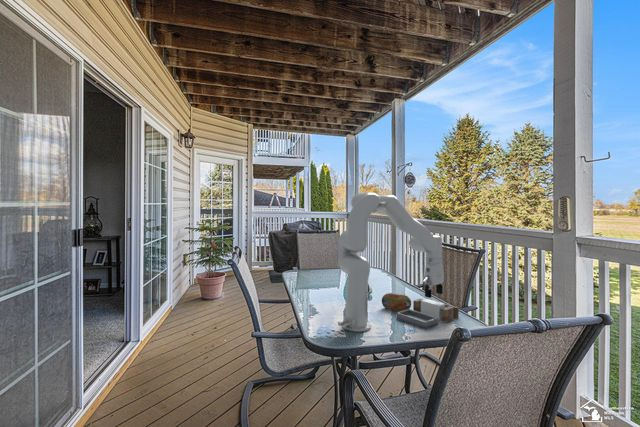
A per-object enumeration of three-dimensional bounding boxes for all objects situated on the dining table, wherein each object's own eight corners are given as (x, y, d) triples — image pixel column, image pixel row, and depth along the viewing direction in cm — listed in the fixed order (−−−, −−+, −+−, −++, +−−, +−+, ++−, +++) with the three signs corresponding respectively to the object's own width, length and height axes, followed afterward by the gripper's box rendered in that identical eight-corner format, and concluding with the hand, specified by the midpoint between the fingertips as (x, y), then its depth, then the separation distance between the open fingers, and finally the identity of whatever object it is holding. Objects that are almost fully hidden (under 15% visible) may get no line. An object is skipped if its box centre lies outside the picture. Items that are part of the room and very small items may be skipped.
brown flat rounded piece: (381, 308, 164) (381, 292, 164) (383, 306, 167) (383, 291, 167) (410, 313, 157) (410, 296, 157) (411, 311, 160) (412, 295, 160)
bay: (446, 322, 144) (446, 309, 144) (413, 312, 158) (413, 300, 158) (458, 317, 151) (458, 305, 151) (425, 308, 165) (425, 296, 165)
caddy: (441, 321, 147) (441, 306, 147) (420, 314, 156) (420, 300, 155) (447, 318, 150) (447, 304, 150) (426, 312, 159) (426, 298, 158)
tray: (425, 329, 136) (425, 322, 136) (396, 319, 148) (396, 312, 148) (437, 324, 142) (438, 318, 142) (408, 314, 154) (408, 308, 154)
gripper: (430, 264, 144) (430, 300, 145) (450, 259, 155) (450, 293, 156) (416, 261, 150) (416, 296, 151) (436, 257, 161) (436, 290, 161)
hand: (433, 295), depth 153 cm, fingers open, 9 cm apart
